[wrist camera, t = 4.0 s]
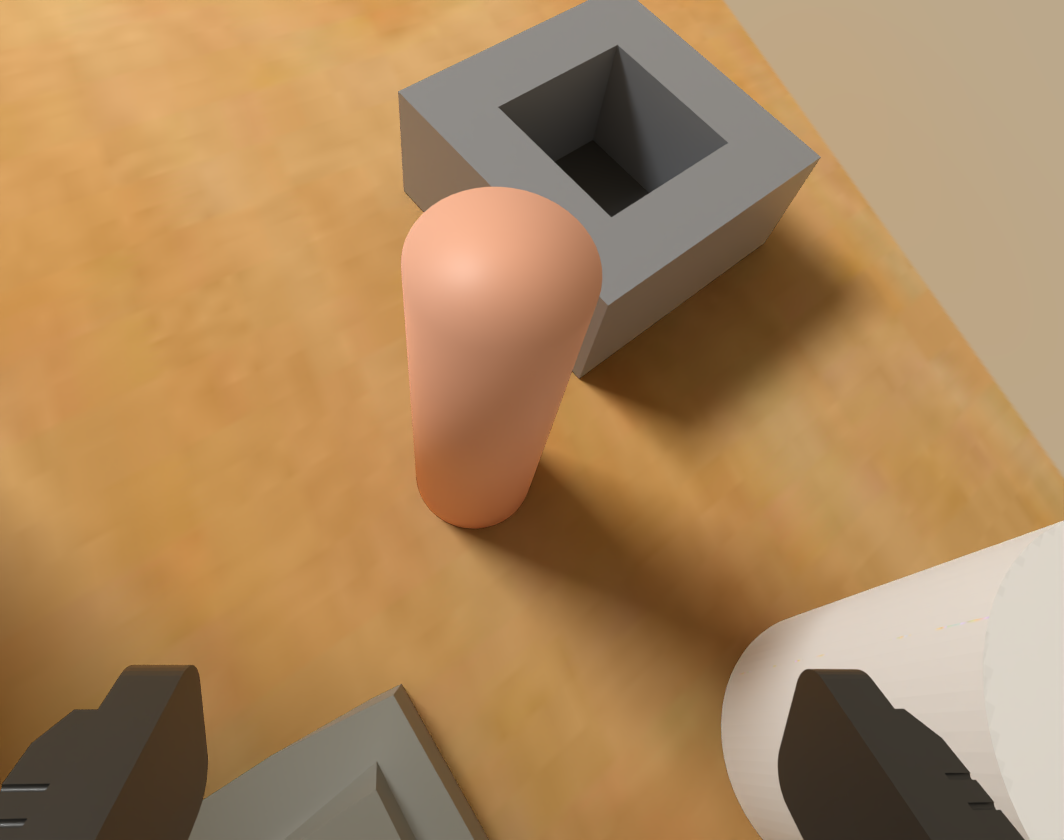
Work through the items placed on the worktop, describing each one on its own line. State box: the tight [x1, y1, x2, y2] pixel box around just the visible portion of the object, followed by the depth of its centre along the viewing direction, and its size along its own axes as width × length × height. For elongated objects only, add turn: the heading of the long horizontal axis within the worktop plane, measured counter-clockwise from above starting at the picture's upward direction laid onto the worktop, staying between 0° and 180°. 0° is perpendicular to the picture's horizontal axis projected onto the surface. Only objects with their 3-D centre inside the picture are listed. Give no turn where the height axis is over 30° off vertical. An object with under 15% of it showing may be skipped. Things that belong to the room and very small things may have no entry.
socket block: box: [398, 0, 821, 378], centre depth 28 cm, size 11×11×5 cm
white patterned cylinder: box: [721, 521, 1064, 840], centre depth 17 cm, size 8×8×12 cm
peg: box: [401, 187, 602, 529], centre depth 20 cm, size 4×4×12 cm
